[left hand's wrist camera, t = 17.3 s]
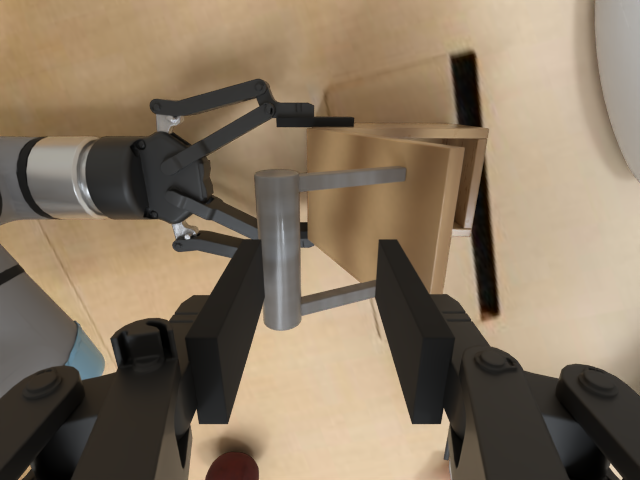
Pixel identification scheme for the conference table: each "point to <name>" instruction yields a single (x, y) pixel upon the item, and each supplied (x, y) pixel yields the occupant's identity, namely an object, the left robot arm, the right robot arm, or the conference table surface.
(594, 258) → the conference table surface
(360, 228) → the lid
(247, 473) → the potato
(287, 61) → the conference table surface
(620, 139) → the projector
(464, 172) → the chest
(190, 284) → the conference table surface
